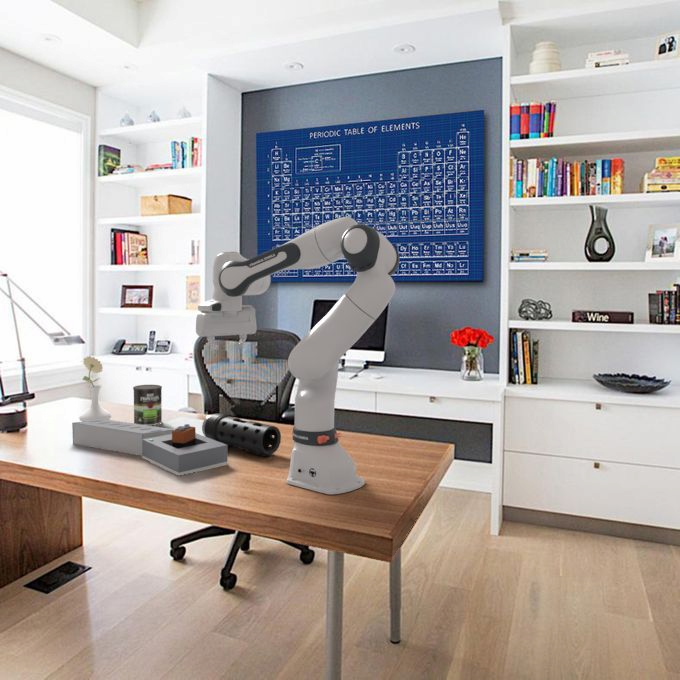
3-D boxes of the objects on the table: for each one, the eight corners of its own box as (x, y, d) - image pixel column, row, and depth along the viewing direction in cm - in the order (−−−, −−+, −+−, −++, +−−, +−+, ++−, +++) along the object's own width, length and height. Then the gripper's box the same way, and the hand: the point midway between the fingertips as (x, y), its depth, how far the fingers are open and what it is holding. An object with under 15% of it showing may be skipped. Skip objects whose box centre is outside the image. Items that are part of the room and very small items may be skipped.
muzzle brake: (260, 461, 178) (260, 428, 177) (200, 445, 195) (199, 414, 194) (281, 454, 186) (281, 422, 185) (221, 439, 203) (221, 410, 202)
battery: (171, 460, 174) (171, 427, 173) (183, 454, 180) (183, 422, 179) (184, 462, 173) (184, 429, 172) (196, 455, 179) (196, 423, 178)
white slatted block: (174, 446, 194) (173, 423, 194) (142, 457, 181) (142, 433, 180) (106, 435, 207) (106, 414, 206) (72, 445, 194) (72, 422, 193)
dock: (227, 464, 174) (227, 443, 174) (178, 476, 163) (178, 454, 162) (189, 448, 190) (189, 429, 189) (142, 458, 179) (142, 438, 178)
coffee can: (164, 424, 221) (164, 387, 220) (136, 427, 216) (135, 389, 215) (159, 419, 230) (158, 383, 229) (131, 421, 225) (130, 385, 224)
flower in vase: (117, 421, 225) (115, 356, 223) (88, 426, 216) (87, 359, 214) (99, 416, 233) (97, 353, 231) (71, 421, 224) (69, 356, 222)
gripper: (249, 304, 190) (249, 346, 191) (192, 305, 176) (193, 351, 177) (260, 305, 185) (260, 348, 187) (204, 306, 171) (204, 353, 172)
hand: (227, 349), depth 182 cm, fingers open, 8 cm apart
